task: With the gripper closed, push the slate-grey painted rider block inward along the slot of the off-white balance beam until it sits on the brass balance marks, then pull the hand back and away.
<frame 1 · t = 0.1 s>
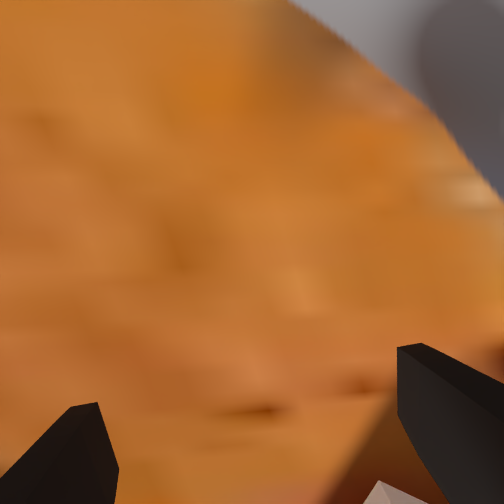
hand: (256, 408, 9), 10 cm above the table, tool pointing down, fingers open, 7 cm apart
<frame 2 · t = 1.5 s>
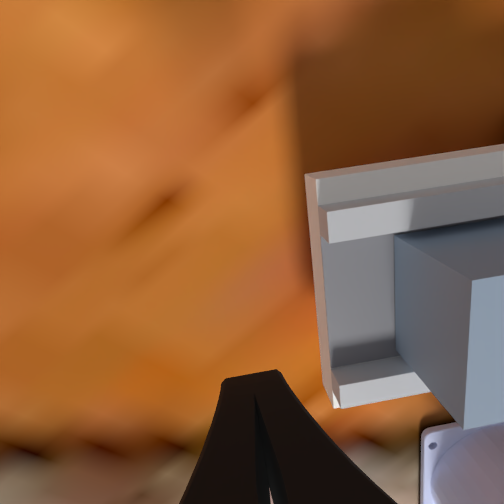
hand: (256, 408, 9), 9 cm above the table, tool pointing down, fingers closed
rider: (502, 309, 12), point 7 cm above the table, slide at 9.0 cm
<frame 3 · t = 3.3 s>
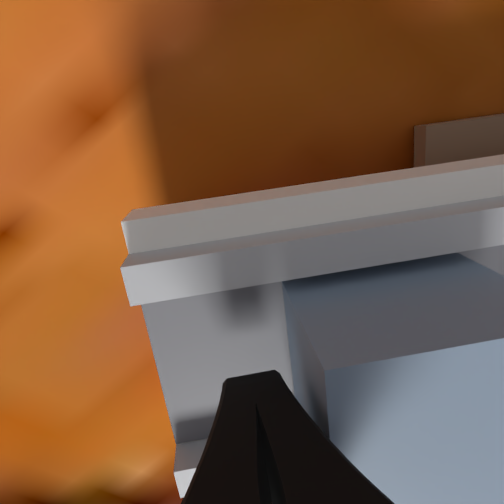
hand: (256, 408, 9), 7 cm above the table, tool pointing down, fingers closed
rider: (406, 379, 9), point 7 cm above the table, slide at 7.7 cm, touching gripper
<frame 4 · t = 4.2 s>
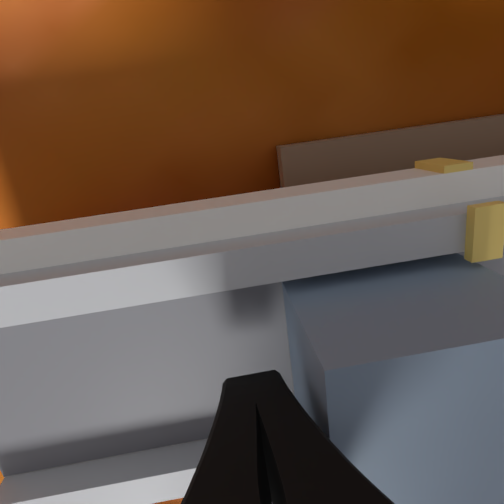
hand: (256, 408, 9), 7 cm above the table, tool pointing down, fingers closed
balance beam: (431, 261, 16), on the table
rider: (406, 380, 9), point 7 cm above the table, slide at 2.5 cm, touching gripper
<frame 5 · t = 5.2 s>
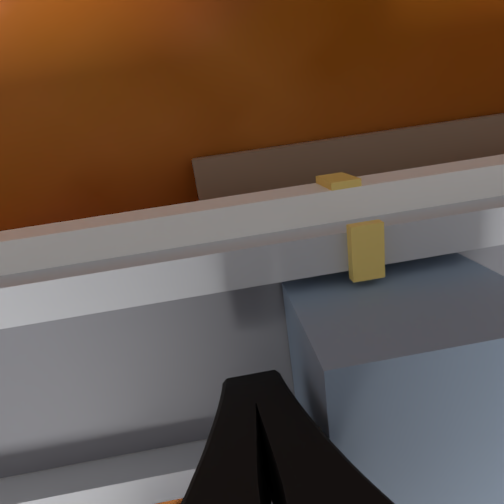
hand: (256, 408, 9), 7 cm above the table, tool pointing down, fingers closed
balance beam: (361, 272, 16), on the table
rider: (406, 380, 9), point 7 cm above the table, slide at -0.5 cm, touching gripper
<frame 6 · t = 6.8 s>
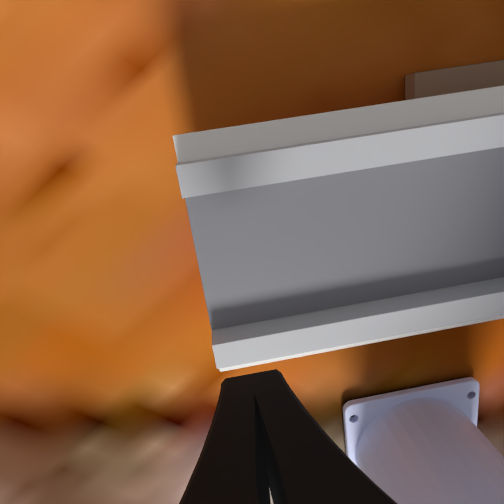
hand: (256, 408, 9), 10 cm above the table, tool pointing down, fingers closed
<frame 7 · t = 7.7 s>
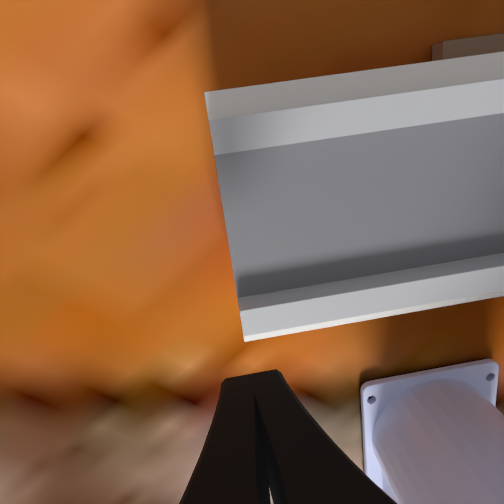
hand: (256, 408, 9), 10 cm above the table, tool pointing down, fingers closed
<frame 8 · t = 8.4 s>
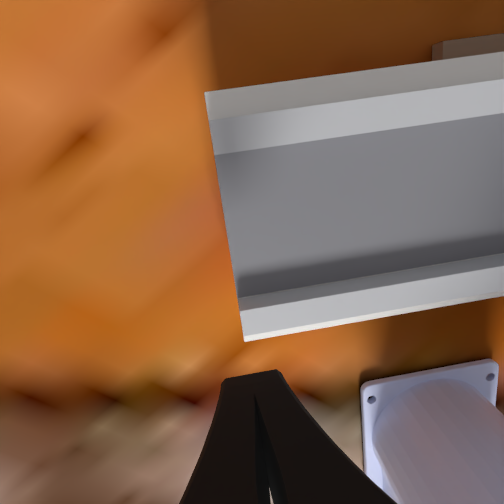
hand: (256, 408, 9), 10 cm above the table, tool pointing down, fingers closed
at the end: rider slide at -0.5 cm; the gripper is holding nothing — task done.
